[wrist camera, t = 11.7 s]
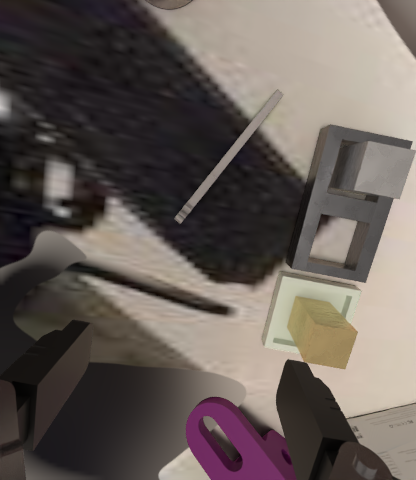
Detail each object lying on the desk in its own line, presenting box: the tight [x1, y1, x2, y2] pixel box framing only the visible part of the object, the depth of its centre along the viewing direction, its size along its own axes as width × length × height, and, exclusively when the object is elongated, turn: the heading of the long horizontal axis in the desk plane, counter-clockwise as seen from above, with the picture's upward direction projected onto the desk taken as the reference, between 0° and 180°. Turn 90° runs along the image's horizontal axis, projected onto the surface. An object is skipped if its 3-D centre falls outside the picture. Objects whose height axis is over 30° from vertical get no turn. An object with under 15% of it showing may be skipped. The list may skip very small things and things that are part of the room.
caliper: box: [175, 90, 283, 224], centre depth 34 cm, size 20×1×6 cm, turn 141°
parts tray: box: [262, 271, 362, 354], centre depth 40 cm, size 11×11×2 cm
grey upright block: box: [328, 141, 416, 199], centre depth 33 cm, size 5×5×8 cm
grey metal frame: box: [286, 125, 413, 283], centre depth 36 cm, size 18×10×3 cm, turn 169°
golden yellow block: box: [287, 296, 358, 369], centre depth 37 cm, size 5×5×8 cm
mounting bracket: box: [186, 397, 297, 480], centre depth 44 cm, size 9×8×18 cm
